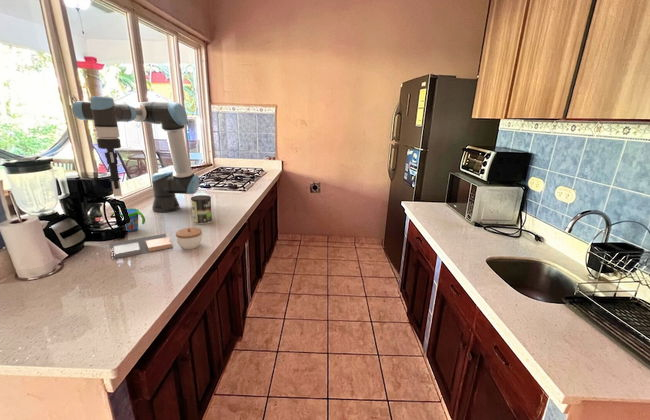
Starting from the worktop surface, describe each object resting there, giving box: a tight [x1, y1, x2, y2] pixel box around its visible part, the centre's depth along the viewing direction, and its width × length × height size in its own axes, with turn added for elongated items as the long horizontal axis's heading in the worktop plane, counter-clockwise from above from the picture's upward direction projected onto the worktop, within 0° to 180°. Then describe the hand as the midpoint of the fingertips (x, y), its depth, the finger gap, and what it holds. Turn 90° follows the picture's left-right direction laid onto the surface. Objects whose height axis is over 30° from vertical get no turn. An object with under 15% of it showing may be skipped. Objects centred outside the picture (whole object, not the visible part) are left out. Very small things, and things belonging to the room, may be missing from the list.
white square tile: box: [114, 242, 141, 258], centre depth 130 cm, size 2×9×9 cm
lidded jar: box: [175, 227, 203, 250], centre depth 137 cm, size 11×11×9 cm
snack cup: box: [110, 207, 146, 233], centre depth 154 cm, size 16×10×10 cm
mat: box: [108, 233, 174, 261], centre depth 137 cm, size 20×23×1 cm
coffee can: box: [190, 194, 213, 225], centre depth 170 cm, size 10×10×14 cm
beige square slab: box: [146, 236, 172, 252], centre depth 137 cm, size 2×9×9 cm
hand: (117, 195), depth 127 cm, fingers closed
